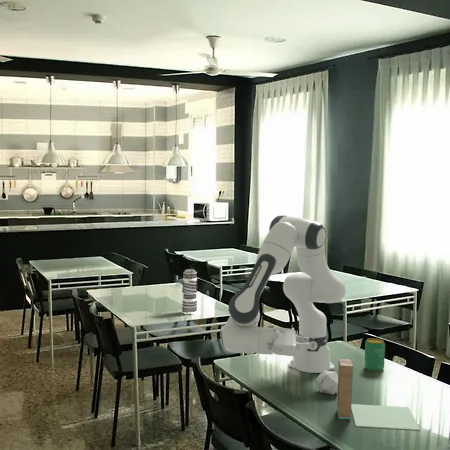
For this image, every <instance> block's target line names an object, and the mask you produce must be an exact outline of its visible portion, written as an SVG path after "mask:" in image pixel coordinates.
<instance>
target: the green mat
mask: <svg viewBox="0 0 450 450" xmlns="http://www.w3.org/2000/svg"><path fill="white" fill-rule="evenodd" d="M351 415H352V418H353V420H354V424H355V425H354V426H355V427H357V428H358V427H360V428H373V429H374V428H375V429H389V430H390V429H393V430H405V431H407V430H408V431H409V430H410V431H411V430H412V431H421V428H420V427H419V425H418V422H417V421H416V419H415V417H414V415H413V413H412V411H411V409H410V407H408V406H407V407H406V406H395V405H394V406H393V405H392V406H390V405H377V404H375V405H372V404H356V403H352V406H351Z"/></svg>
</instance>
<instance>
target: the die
mask: <svg viewBox="0 0 450 450" xmlns="http://www.w3.org/2000/svg"><path fill="white" fill-rule="evenodd" d="M315 382H316V385H317V387H318V391H319V393H322V394H327V395H332V396H334V395H335V394H336V392H338V372H337V371H333V370H328V371H326V370H323V371H322V372H321V373H319V375H317V377H316V379H315Z"/></svg>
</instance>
